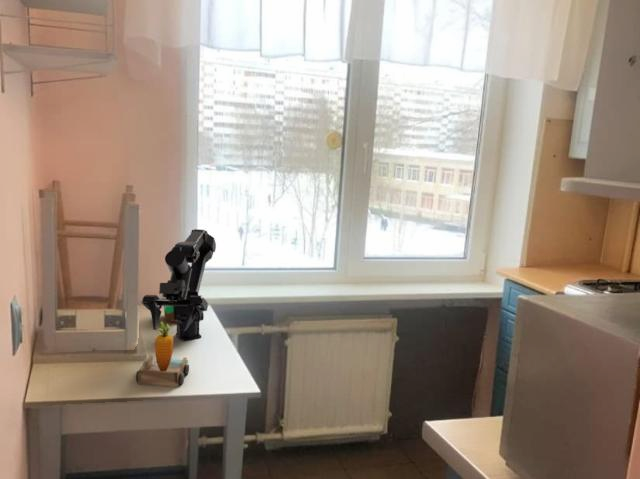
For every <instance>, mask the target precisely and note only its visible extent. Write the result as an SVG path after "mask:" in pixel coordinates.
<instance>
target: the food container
mask: <svg viewBox="0 0 640 479" xmlns="http://www.w3.org/2000/svg"><path fill="white" fill-rule="evenodd" d="M160 299H166V297H164V296H163V294H161V298H160ZM173 307H174V306H163V316H164V320H165V322H167V323H170V324H177V323H178V320H174V311H173Z"/></svg>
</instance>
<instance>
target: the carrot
mask: <svg viewBox="0 0 640 479" xmlns="http://www.w3.org/2000/svg"><path fill="white" fill-rule="evenodd" d="M159 322H160V326H161V328H158V329H157V330H158V332H160V334H158V335H157V336H156V337H155V340H154V350H155V351H154V353H155V354H154V355H155V360H156V361H157V365H158V367H159V369H160V371H166V370H167V369H168V367H169V364H170V361H171V359H172V358H173V352H174V337H173V336H172V335H170V334H168V333H169V330H170V328H171V327H170V324H168V323H166V326H165V323H164V321H159ZM156 361H155V362H156Z"/></svg>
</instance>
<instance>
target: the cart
mask: <svg viewBox="0 0 640 479" xmlns="http://www.w3.org/2000/svg"><path fill="white" fill-rule="evenodd" d="M153 358H154V356H153V355H152V354H149V356H148V357H147V358H146V360H144V362H143V364H142V365H141V366H140V368H139V369H138V370H137V371H136V374H135V381H136V382H137V383H138V384H137V385H141V386H142V385H143V386H156V387H169V388H170V387H172V388H173V387H174V388H178V387H179V385H183V384H184V381H185V375H187V376H188V375H189V373H190V372H189V371H190V364H189V359H187V357H182V359H181V358H180V359H179V358H178V359H177V358H171V361H170V364H169V367H168V369H167V370H166V371H160V369H159V367H158V365H157V361H155V363H154V361H153Z"/></svg>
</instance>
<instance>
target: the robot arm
mask: <svg viewBox="0 0 640 479" xmlns="http://www.w3.org/2000/svg"><path fill="white" fill-rule="evenodd" d="M216 248H217V243H216V240H215V238H214V237H213V235H210V233H208V231H207V230H205V229H197V228H195V229H191V232H190V234H189V236H188V237H187V238H186V239H185V240H184V241H179V242H177V243H176V244H175V245H174V246H173V247H172V248H171V250H170V251H169V252H167V253H166V255H165V257H164V261H165V264H166V266H167V268H168V270H169V272H170V274H171V275H170V279H169V280H167V282H160V283H159V292H158V294H159V295H160V294H161V295H162V294H163V296H164V297H166V299H162V298H160V297H159V296H158V295H156V294H145V295H144V296H143V297H142V300H141V304H142V305H143V307H145V308H146V309H147V311H148V310H149V312H150V315H151V322H152V328H153V330H154V331H156V330H158V329H157V328H158V326H159V322H160V318H161V315H162V311H161V309H162V307H164V306H174V307H173V311H174V320H178V323H176V333H175V336H177V337H178V338H179V339H180V340H182V341H184V342H185V341H190V340H195V339H196V340H197V339H201V338H202V335H201V334H200V322H201V321H204V320H205V318H204V317H205V315H204V312H206V311H208V306H209V303H208V301H207V300H206V299H205V298H204V296H203V295H199V292H200V288H201V284H202V281H203V275H204V272H205V269H206V264H207V262H208V261H210V260H211V259H212V258H213V255H214V253H215V252H216ZM189 263H191V265H190V264H189Z"/></svg>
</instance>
